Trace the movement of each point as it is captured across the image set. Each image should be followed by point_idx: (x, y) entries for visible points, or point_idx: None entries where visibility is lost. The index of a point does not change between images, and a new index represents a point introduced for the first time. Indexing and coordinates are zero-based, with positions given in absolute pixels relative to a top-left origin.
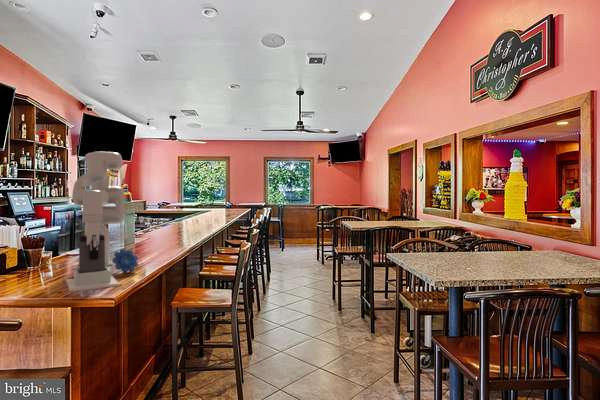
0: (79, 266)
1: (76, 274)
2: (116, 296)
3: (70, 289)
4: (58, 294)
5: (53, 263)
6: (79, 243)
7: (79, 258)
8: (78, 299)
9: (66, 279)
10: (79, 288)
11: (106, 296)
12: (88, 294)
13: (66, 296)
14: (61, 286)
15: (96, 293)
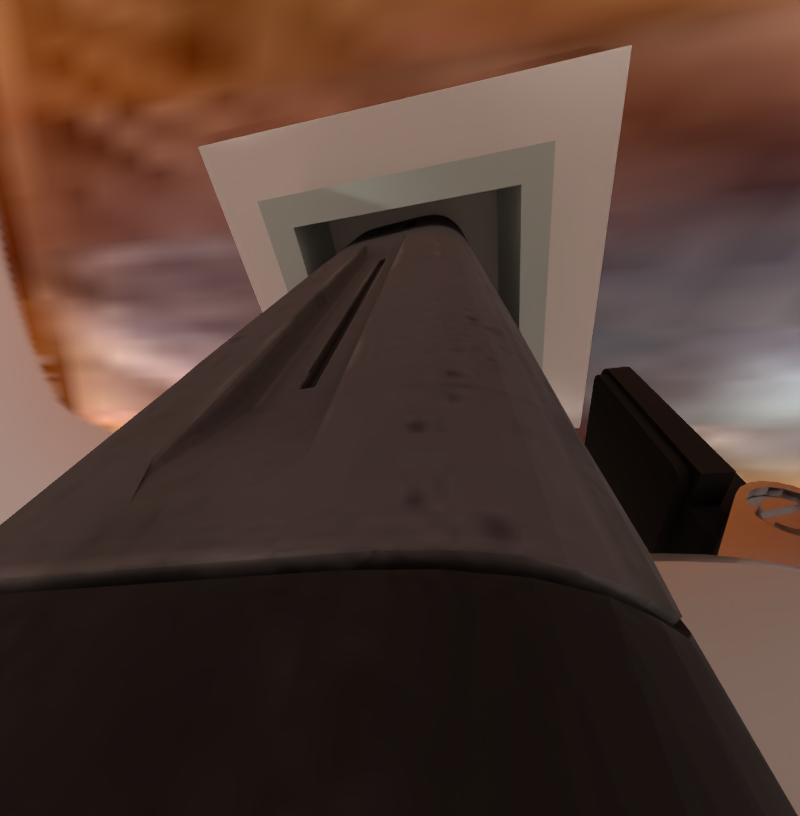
0: (415, 235)
1: (262, 206)
2: (102, 426)
3: (203, 154)
4: (117, 46)
5: None
6: (310, 435)
7: (402, 258)
8: (7, 241)
9: (630, 45)
10: (231, 229)
11: (97, 387)
12: (131, 295)
13: (64, 139)
14: (420, 23)
15: (156, 339)
